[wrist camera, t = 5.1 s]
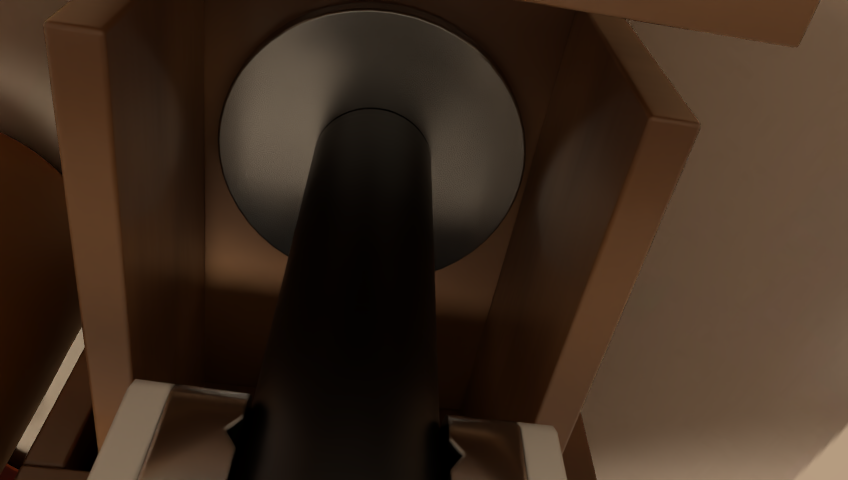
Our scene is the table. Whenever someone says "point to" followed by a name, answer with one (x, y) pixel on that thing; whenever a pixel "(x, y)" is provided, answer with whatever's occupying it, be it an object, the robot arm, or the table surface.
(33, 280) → the mug
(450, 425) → the robot arm
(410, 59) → the coffee tamper
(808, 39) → the table surface
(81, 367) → the cabinet
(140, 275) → the drawer
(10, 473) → the book monster
